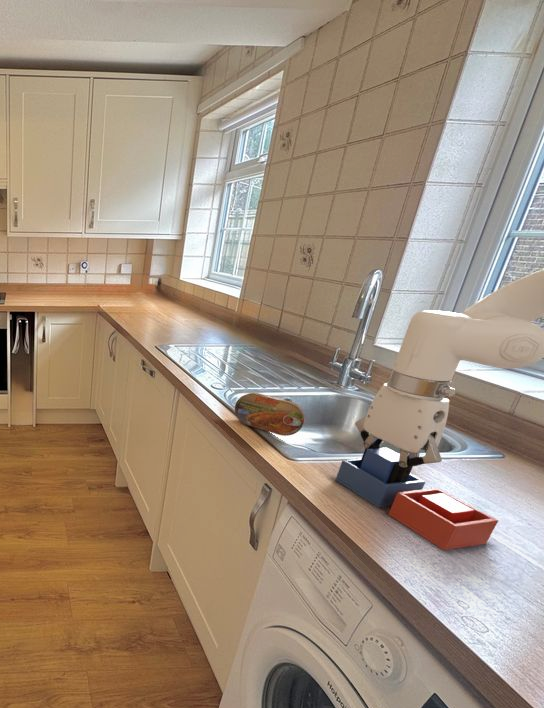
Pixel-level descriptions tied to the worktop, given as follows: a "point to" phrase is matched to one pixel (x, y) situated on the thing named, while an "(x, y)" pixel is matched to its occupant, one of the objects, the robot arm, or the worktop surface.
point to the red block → (447, 507)
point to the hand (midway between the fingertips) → (381, 473)
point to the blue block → (380, 462)
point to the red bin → (441, 521)
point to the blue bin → (373, 484)
